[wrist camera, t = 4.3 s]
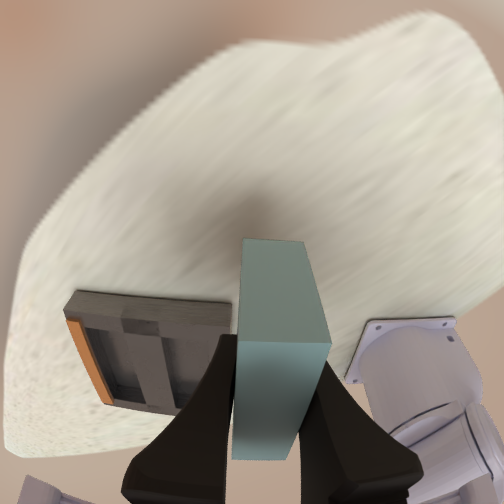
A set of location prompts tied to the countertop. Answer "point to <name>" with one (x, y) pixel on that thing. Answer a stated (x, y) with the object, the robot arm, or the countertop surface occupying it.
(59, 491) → the robot arm
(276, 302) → the panel
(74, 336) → the panel rack
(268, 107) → the countertop surface
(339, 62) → the countertop surface
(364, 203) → the countertop surface
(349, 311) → the countertop surface
